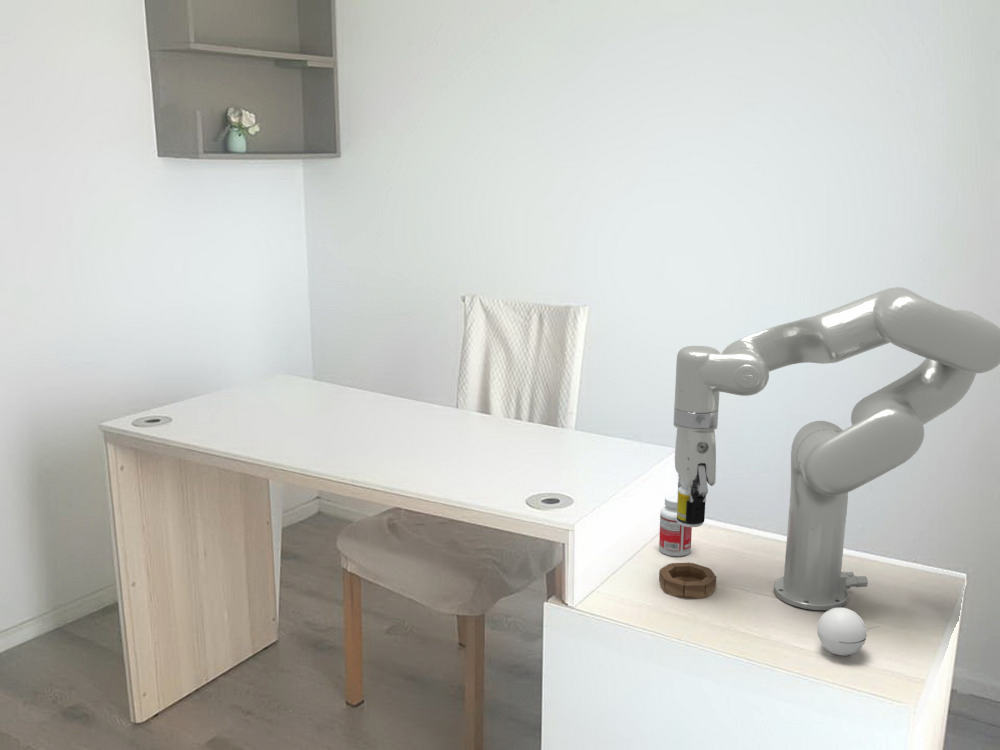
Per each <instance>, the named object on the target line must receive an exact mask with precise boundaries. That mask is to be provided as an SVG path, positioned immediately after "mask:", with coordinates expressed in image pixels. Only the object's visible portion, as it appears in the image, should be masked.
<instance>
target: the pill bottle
mask: <svg viewBox="0 0 1000 750" xmlns="http://www.w3.org/2000/svg"><path fill="white" fill-rule="evenodd" d="M677 501H678V493H671V494H667V495H666V496H665V497H664V506H663V507H662V508H661V509H660V515H659V541H658V542H659V543H658V544H659V545H658V549H659V550H660V552H661V553H662V554H663V555H666V556H670V557H683V556H687V555H689V554H690V553H691V551H692V550H691V549H692V532H693V531H692V530H693V529H692V528H693V527H685V526H682V525H680V524H678V523H677Z"/></svg>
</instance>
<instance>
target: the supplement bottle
mask: <svg viewBox="0 0 1000 750" xmlns="http://www.w3.org/2000/svg"><path fill="white" fill-rule="evenodd" d="M693 483H694V484H698V481H693ZM695 490H698V488H693V494H694V492H695ZM677 494H678V504H677V523H678V524H680V525H682V526H685V527H692V528H698V527H702V525H704V522H703V523H687V522H686V504H687V501H689V491H688V484H686V483H685V481H684V480H683V479H682V478H681V486H680V487H679V488H678V489H677Z"/></svg>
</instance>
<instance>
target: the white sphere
mask: <svg viewBox="0 0 1000 750" xmlns="http://www.w3.org/2000/svg"><path fill="white" fill-rule="evenodd" d="M875 628H880V626H874V627H870V628H868V630H871V629H875ZM816 630H817V636H818V638H819V641H820V643H821V645H822V646H823V647H824V648H825V649H826V650H827V651H828V652H830V653H831V654H832V653H833V654H834V655H837V656H851V655H853V654H855V653H857V652H858V651H860V649H861V648H862V647H863V646H864V645H865V642H866V640H867V637H868V636H867V626H866V624H865V623H864V620H863V619H862V617H861V616H859V614H858V613H857V612H855V611H854V610H851V609H849V608H847V607H840V608H833V609H830V610H826V611H825V612H824V613H823V614H822V615H821V616H820V618H819V620H818V624H817V629H816Z"/></svg>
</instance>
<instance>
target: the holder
mask: <svg viewBox="0 0 1000 750" xmlns="http://www.w3.org/2000/svg"><path fill="white" fill-rule="evenodd" d="M658 573H659V574H658V582H659V585H660V589H661V590H662V591H663V592H664V593H666V594H667V595H670V596H672V597H675V598H679V599H685V600H699V599H704V598H708V597H709V596H712V594H713V593H714V591H715V590H716V588H717V575H716V574H715V573H714V571H713V570H712V569H711V568H710V567H707V566H703V565H700V564H698V563H693V562H671V563H669V564H668V563H667V565H665V566H664V567H661V568H660V569H659V572H658Z"/></svg>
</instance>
